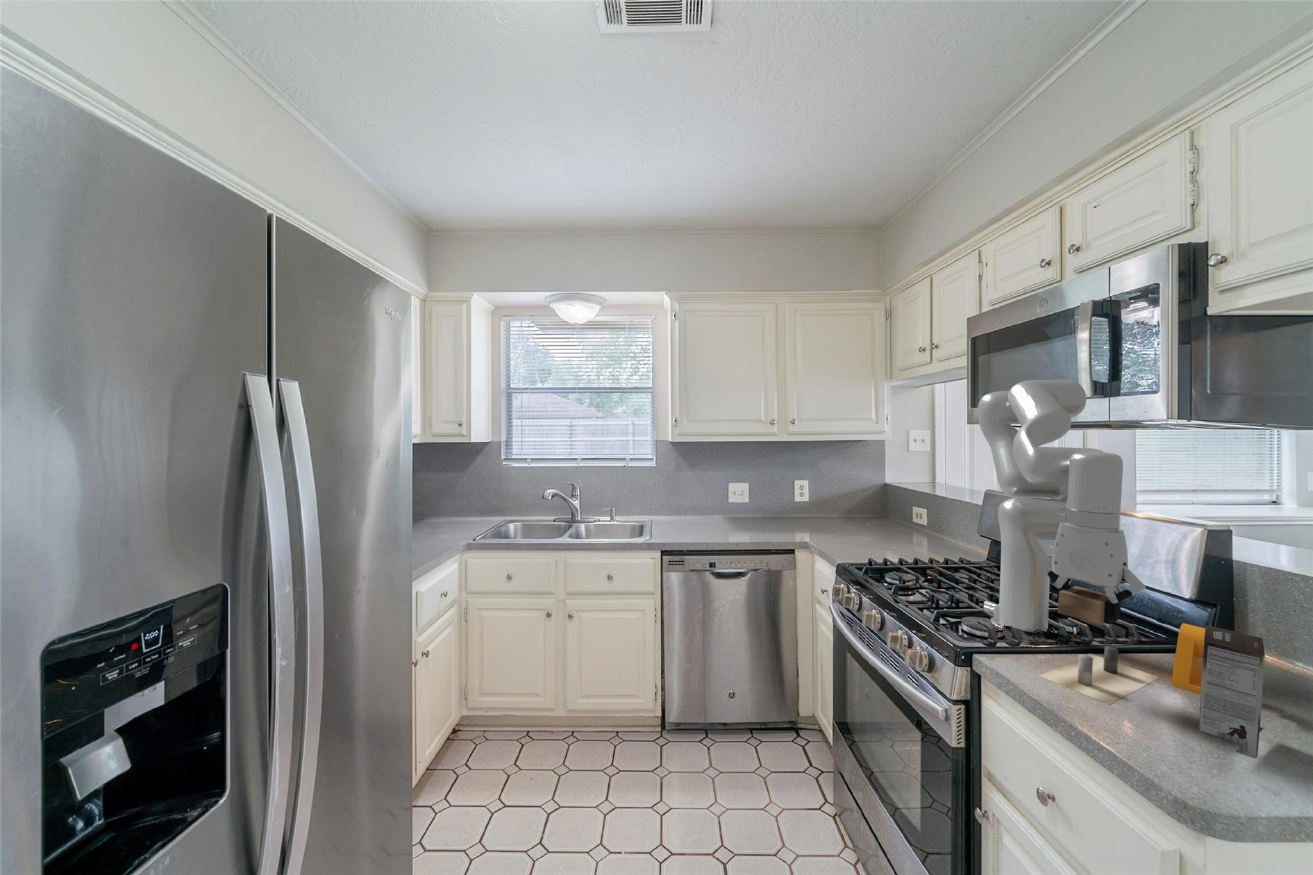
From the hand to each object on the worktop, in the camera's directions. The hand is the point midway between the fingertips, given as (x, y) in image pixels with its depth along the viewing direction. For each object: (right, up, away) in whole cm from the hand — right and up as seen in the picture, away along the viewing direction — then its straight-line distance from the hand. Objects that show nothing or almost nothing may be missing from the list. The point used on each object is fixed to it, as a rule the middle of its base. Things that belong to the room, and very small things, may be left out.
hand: (1086, 614), depth 96 cm
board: (+5, -14, +3) cm, 15 cm away
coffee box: (+12, -15, -13) cm, 23 cm away
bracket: (+22, -15, 0) cm, 27 cm away
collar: (0, 0, 0) cm, 0 cm away
